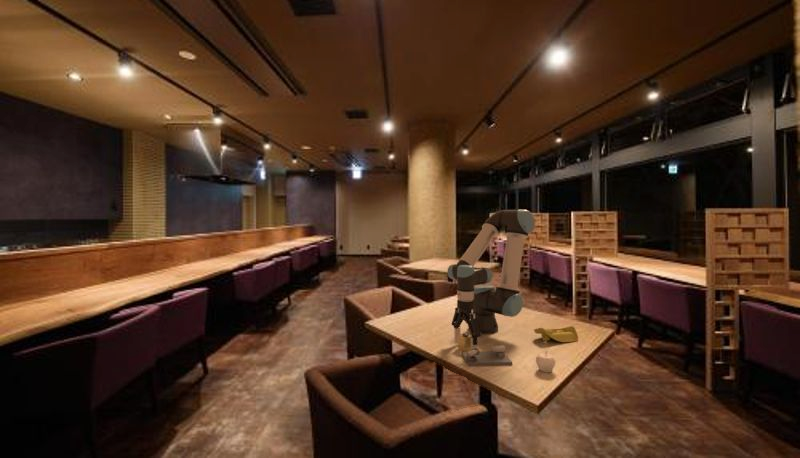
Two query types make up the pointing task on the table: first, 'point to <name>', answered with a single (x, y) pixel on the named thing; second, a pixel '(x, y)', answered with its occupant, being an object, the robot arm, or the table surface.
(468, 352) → the shaft
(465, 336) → the orange rectangular block
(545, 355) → the plain white apple
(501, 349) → the bolted mounting plate
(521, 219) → the robot arm
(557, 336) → the plastic component
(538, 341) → the table surface
